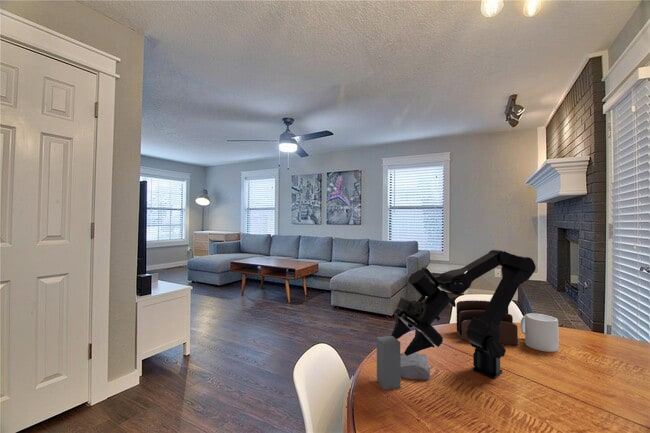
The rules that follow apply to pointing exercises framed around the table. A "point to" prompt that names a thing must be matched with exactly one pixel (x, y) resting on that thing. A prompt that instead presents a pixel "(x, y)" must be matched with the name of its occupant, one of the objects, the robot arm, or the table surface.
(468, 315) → the letter holder
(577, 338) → the table surface
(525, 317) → the mug
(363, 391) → the table surface
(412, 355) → the stone block
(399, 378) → the pillar
